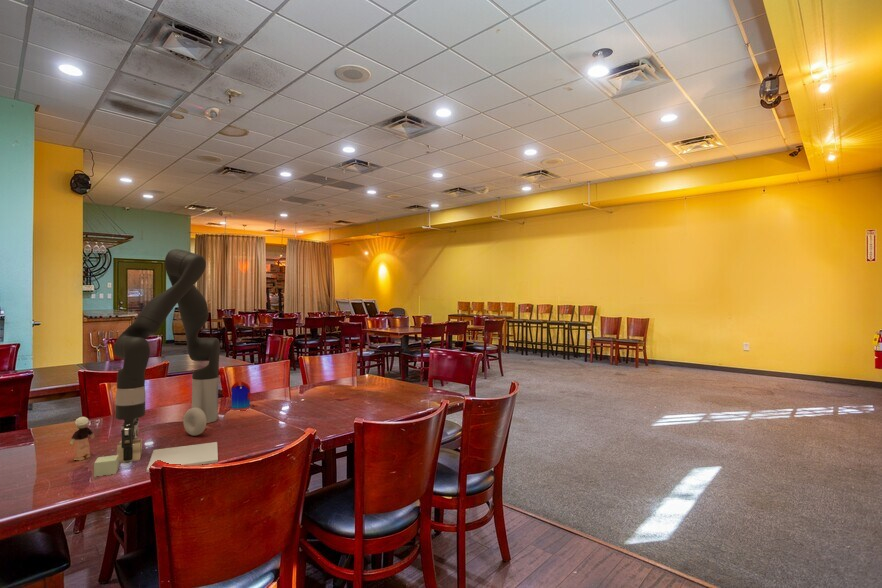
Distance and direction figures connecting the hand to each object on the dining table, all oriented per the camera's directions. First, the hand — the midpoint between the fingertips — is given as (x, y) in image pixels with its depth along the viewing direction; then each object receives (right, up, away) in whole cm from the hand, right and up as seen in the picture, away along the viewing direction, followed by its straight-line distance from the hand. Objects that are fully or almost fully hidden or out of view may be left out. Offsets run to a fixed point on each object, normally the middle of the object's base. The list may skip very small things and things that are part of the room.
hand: (129, 456), depth 135 cm
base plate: (+16, -1, +2) cm, 16 cm away
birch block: (0, -1, 0) cm, 1 cm away
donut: (+7, -1, +23) cm, 24 cm away
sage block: (+1, -1, -11) cm, 11 cm away
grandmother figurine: (-14, -1, -1) cm, 14 cm away
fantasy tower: (+6, -1, +62) cm, 62 cm away
